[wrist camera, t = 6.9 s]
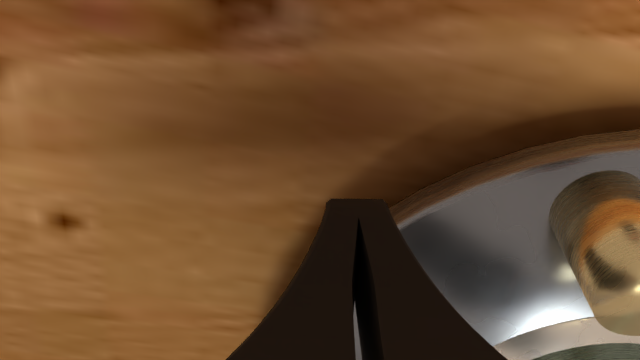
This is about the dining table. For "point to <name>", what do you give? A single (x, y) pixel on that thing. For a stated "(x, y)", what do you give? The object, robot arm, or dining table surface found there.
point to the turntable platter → (536, 244)
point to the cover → (597, 352)
